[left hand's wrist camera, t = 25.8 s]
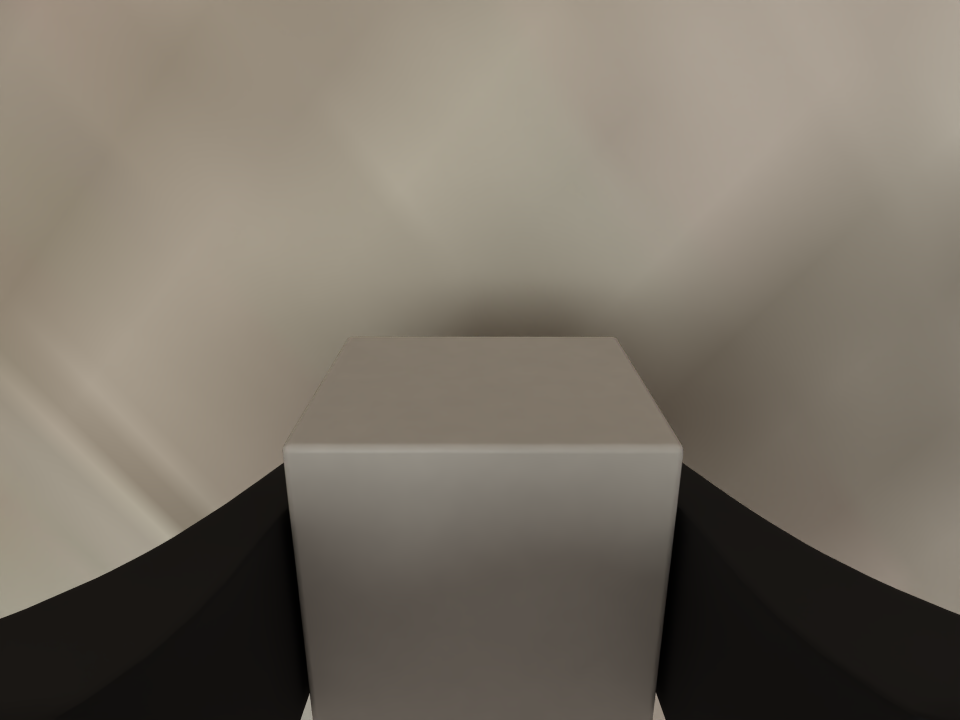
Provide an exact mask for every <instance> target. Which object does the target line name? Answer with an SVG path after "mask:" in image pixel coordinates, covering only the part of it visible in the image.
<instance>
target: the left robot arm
mask: <svg viewBox="0 0 960 720" xmlns="http://www.w3.org/2000/svg"><path fill="white" fill-rule="evenodd" d="M309 693H310V690H309V681H308V672H307V663H306V654H305V645H304V637H303V628H302V619H301V610H300V601H299V592H298V583H297V575H296V566H295V557H294V548H293V539H292V530H291V521H290V512H289V504H288V495H287V486H286V477H285V468H284V463H283V464H281V465H280V466H279V467H277V468H276V469H274V470H273V471H272V472H270V473H269V474H267V475H266V476H265V477H263V478H262V479H261V480H259V481H258V482H256V483H255V484H253V485H252V486H251V487H249V488H248V489H246V490H245V491H244V492H242V493H241V494H239V495H238V496H236V497H235V498H234V499H232V500H231V501H229V502H228V503H226V504H225V505H224V506H222V507H220V508H219V509H217V510H216V511H214V512H213V513H211V514H209V515H208V516H206V517H205V518H203V519H202V520H200V521H198V522H197V523H195V524H194V525H192V526H191V527H189V528H187V529H186V530H184V531H183V532H181V533H180V534H178V535H176V536H175V537H173V538H171V539H170V540H168V541H166V542H165V543H163V544H161V545H159V546H158V547H156V548H154V549H152V550H150V551H149V552H147V553H145V554H143V555H141V556H139V557H137V558H135V559H134V560H132V561H130V562H128V563H126V564H124V565H122V566H120V567H118V568H116V569H114V570H112V571H110V572H108V573H106V574H104V575H102V576H100V577H98V578H96V579H93V580H91V581H89V582H87V583H84V584H82V585H80V586H77V587H75V588H73V589H71V590H68V591H66V592H64V593H61V594H59V595H57V596H55V597H52V598H50V599H48V600H45V601H43V602H41V603H38V604H36V605H34V606H32V607H29V608H27V609H24V610H22V611H19V612H17V613H14V614H12V615H9V616H6V617H4V618H1V619H0V720H301V717H302V714H303V711H304V708H305V705H306V702H307V699H308V696H309ZM656 694H657V696H658V699H659V702H660V705H661V708H662V711H663V713H664V716H665V719H666V720H960V615H959V614H956V613H953V612H951V611H948V610H946V609H944V608H941V607H939V606H936V605H934V604H931V603H929V602H927V601H924V600H922V599H919V598H917V597H915V596H912V595H910V594H907V593H905V592H903V591H900V590H898V589H895V588H893V587H891V586H889V585H887V584H884V583H882V582H880V581H878V580H876V579H873V578H871V577H869V576H867V575H865V574H863V573H861V572H859V571H857V570H855V569H853V568H851V567H849V566H847V565H845V564H843V563H841V562H839V561H837V560H835V559H833V558H831V557H829V556H827V555H825V554H823V553H822V552H820V551H818V550H816V549H814V548H812V547H811V546H809V545H807V544H805V543H803V542H802V541H800V540H798V539H797V538H795V537H793V536H792V535H790V534H788V533H787V532H785V531H783V530H782V529H780V528H778V527H777V526H775V525H773V524H772V523H770V522H768V521H767V520H765V519H764V518H762V517H761V516H759V515H757V514H756V513H754V512H753V511H751V510H750V509H748V508H747V507H745V506H744V505H742V504H741V503H739V502H738V501H736V500H735V499H733V498H732V497H730V496H729V495H727V494H726V493H725V492H723V491H722V490H720V489H719V488H717V487H716V486H714V485H713V484H712V483H710V482H709V481H707V480H706V479H705V478H703V477H702V476H700V475H699V474H698V473H696V472H695V471H693V470H692V469H690V468H689V467H688V466H686V465H685V464H683V463H682V468H681V477H680V485H679V494H678V503H677V511H676V520H675V529H674V537H673V546H672V555H671V563H670V572H669V581H668V589H667V598H666V607H665V615H664V624H663V633H662V641H661V650H660V659H659V667H658V676H657V685H656Z"/></svg>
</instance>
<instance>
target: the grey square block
mask: <svg viewBox="0 0 960 720" xmlns="http://www.w3.org/2000/svg"><path fill="white" fill-rule="evenodd" d="M683 451H684V450H683V447H682V444H681V443H680V441H679V440H678V438H677V436H676V435H675V433H674V431H673V430H672V428H671V426H670V425H669V423H668V422H667V420H666V418H665V417H664V415H663V413H662V412H661V410H660V408H659V407H658V405H657V404H656V402H655V400H654V399H653V397H652V395H651V394H650V392H649V390H648V389H647V387H646V386H645V384H644V382H643V381H642V379H641V377H640V376H639V374H638V373H637V371H636V369H635V368H634V366H633V364H632V363H631V361H630V359H629V358H628V356H627V355H626V353H625V351H624V350H623V348H622V346H621V345H620V343H619V341H618V340H617V338H614V337H350V338H348V339H347V341H346V343H345V344H344V346H343V348H342V349H341V351H340V353H339V354H338V356H337V358H336V359H335V361H334V363H333V364H332V366H331V368H330V369H329V371H328V373H327V374H326V376H325V378H324V379H323V381H322V383H321V384H320V386H319V388H318V389H317V391H316V393H315V394H314V396H313V398H312V399H311V401H310V403H309V404H308V406H307V408H306V409H305V411H304V413H303V414H302V416H301V418H300V419H299V421H298V423H297V424H296V426H295V428H294V429H293V431H292V433H291V434H290V436H289V438H288V439H287V441H286V443H285V444H284V447H283V459H284V468H285V477H286V486H287V495H288V504H289V512H290V521H291V530H292V539H293V548H294V557H295V566H296V575H297V583H298V592H299V601H300V610H301V619H302V628H303V637H304V645H305V654H306V663H307V672H308V681H309V690H310V699H311V708H312V716H313V720H652V719H653V711H654V702H655V693H656V685H657V676H658V667H659V659H660V650H661V641H662V633H663V624H664V615H665V607H666V598H667V589H668V581H669V572H670V563H671V555H672V546H673V537H674V529H675V520H676V511H677V503H678V494H679V485H680V477H681V468H682V459H683Z"/></svg>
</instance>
